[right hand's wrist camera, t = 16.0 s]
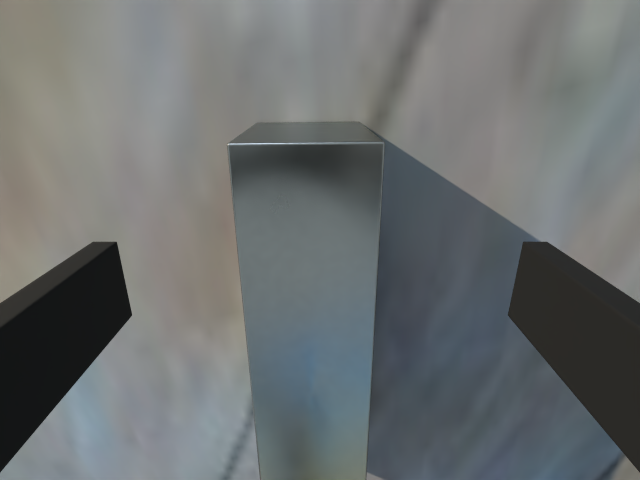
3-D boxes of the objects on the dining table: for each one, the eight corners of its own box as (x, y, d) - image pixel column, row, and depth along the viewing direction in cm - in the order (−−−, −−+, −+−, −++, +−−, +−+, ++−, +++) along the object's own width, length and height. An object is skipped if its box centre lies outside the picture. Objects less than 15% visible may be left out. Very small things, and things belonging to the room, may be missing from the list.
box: (255, 122, 23) (226, 143, 15) (360, 121, 23) (385, 141, 15) (277, 435, 33) (266, 547, 25) (350, 433, 33) (362, 545, 25)
